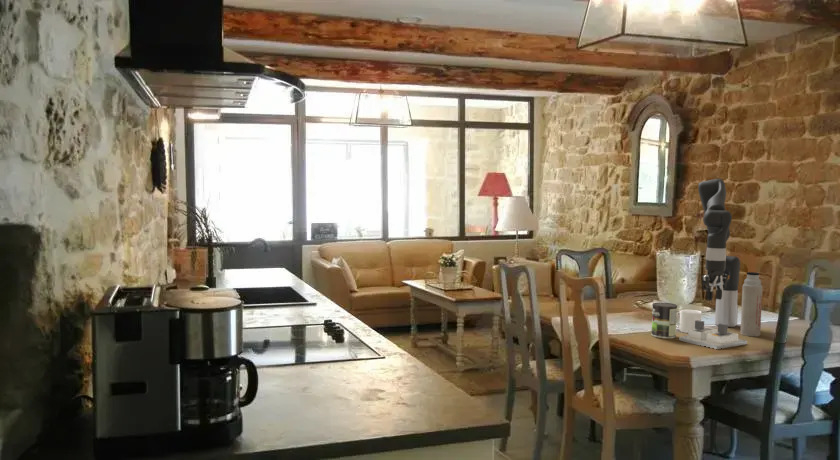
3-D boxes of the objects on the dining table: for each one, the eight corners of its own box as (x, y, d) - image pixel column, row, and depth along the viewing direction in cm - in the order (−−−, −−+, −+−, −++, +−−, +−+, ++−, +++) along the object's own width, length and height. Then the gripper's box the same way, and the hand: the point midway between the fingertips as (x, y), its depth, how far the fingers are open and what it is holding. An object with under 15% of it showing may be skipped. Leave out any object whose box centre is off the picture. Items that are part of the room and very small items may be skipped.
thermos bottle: (764, 335, 298) (767, 273, 296) (752, 337, 294) (755, 274, 293) (748, 331, 305) (750, 271, 303) (736, 333, 301) (739, 271, 300)
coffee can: (657, 338, 289) (658, 306, 288) (647, 333, 299) (648, 302, 298) (680, 338, 290) (681, 306, 289) (669, 333, 300) (670, 302, 299)
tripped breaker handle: (720, 331, 281) (721, 323, 281) (727, 333, 278) (727, 324, 278) (717, 332, 280) (718, 323, 280) (724, 333, 277) (724, 325, 277)
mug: (703, 331, 304) (704, 311, 304) (695, 334, 298) (696, 314, 297) (678, 327, 313) (678, 307, 312) (669, 330, 306) (670, 310, 306)
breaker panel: (709, 335, 296) (709, 325, 296) (746, 344, 281) (747, 333, 280) (679, 340, 286) (679, 329, 286) (716, 349, 271) (716, 338, 270)
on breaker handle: (697, 328, 287) (698, 320, 287) (703, 329, 285) (704, 321, 284) (694, 328, 286) (695, 320, 286) (700, 330, 284) (701, 321, 283)
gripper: (718, 257, 281) (717, 297, 282) (696, 258, 274) (694, 299, 275) (735, 259, 274) (733, 299, 275) (712, 260, 267) (710, 302, 268)
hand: (714, 299), depth 275 cm, fingers open, 5 cm apart
